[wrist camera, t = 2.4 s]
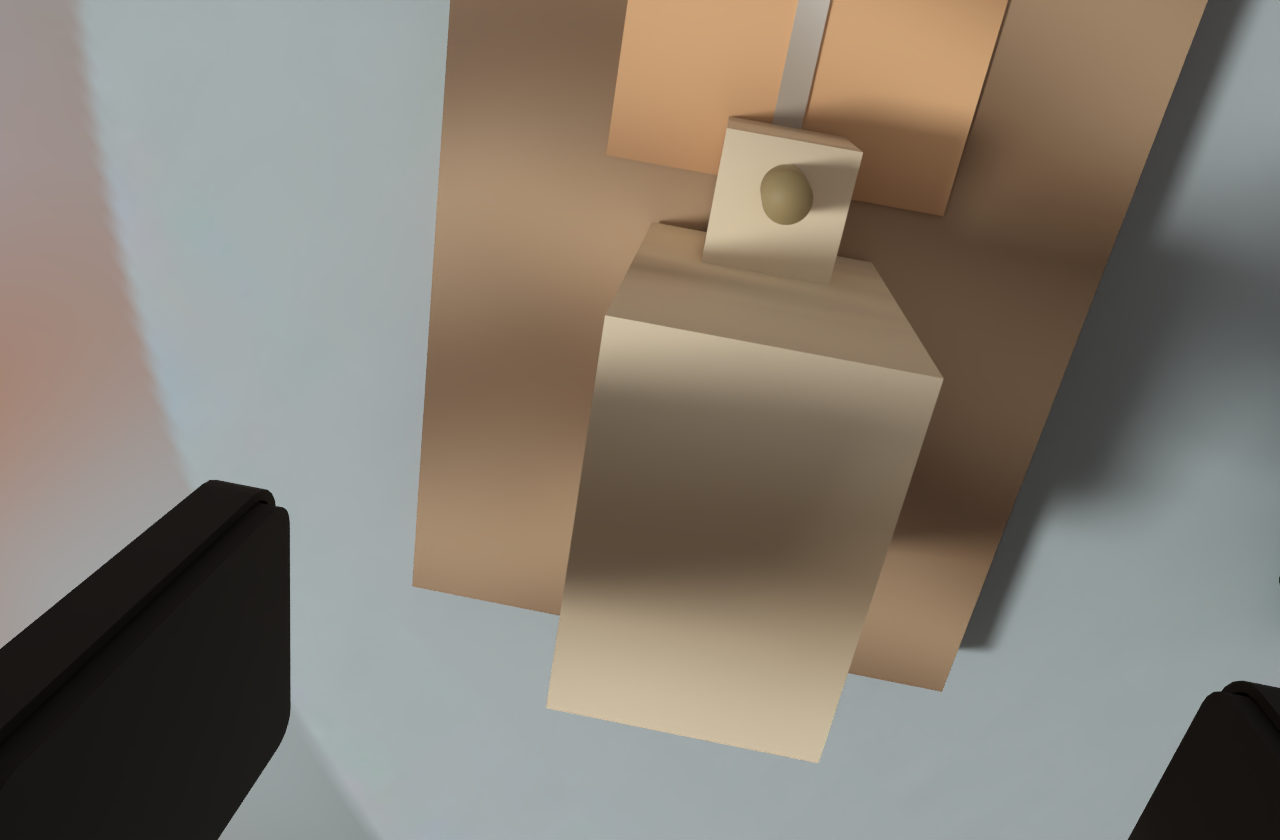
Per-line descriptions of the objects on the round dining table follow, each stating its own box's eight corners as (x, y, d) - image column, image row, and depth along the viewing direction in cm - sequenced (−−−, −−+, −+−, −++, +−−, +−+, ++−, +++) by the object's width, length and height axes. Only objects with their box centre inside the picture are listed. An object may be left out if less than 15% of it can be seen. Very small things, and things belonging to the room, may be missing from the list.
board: (928, 648, 21) (943, 696, 19) (433, 551, 21) (410, 589, 19) (1406, -654, 12) (1505, -757, 10) (534, -780, 12) (505, -897, 11)
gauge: (773, 623, 19) (787, 860, 13) (591, 587, 19) (530, 807, 13) (902, 147, 15) (1000, 205, 9) (671, 105, 15) (630, 139, 9)
